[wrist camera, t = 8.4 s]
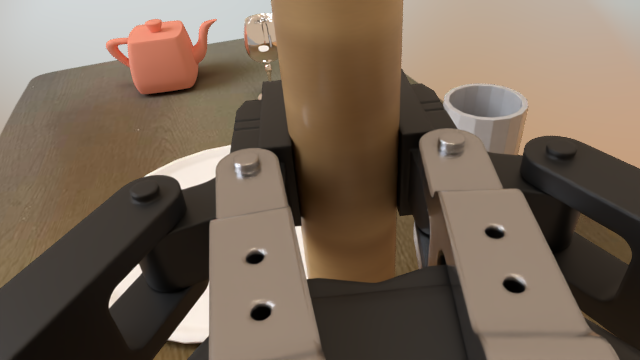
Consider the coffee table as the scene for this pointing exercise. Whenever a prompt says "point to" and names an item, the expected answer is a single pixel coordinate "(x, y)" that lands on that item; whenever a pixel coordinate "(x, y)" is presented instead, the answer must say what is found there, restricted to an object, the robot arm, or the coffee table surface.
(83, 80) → the coffee table surface
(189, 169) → the plate
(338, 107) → the light brown wooden rod
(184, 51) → the teapot
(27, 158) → the coffee table surface
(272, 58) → the wineglass
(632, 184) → the robot arm
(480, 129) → the grey faceted cup
